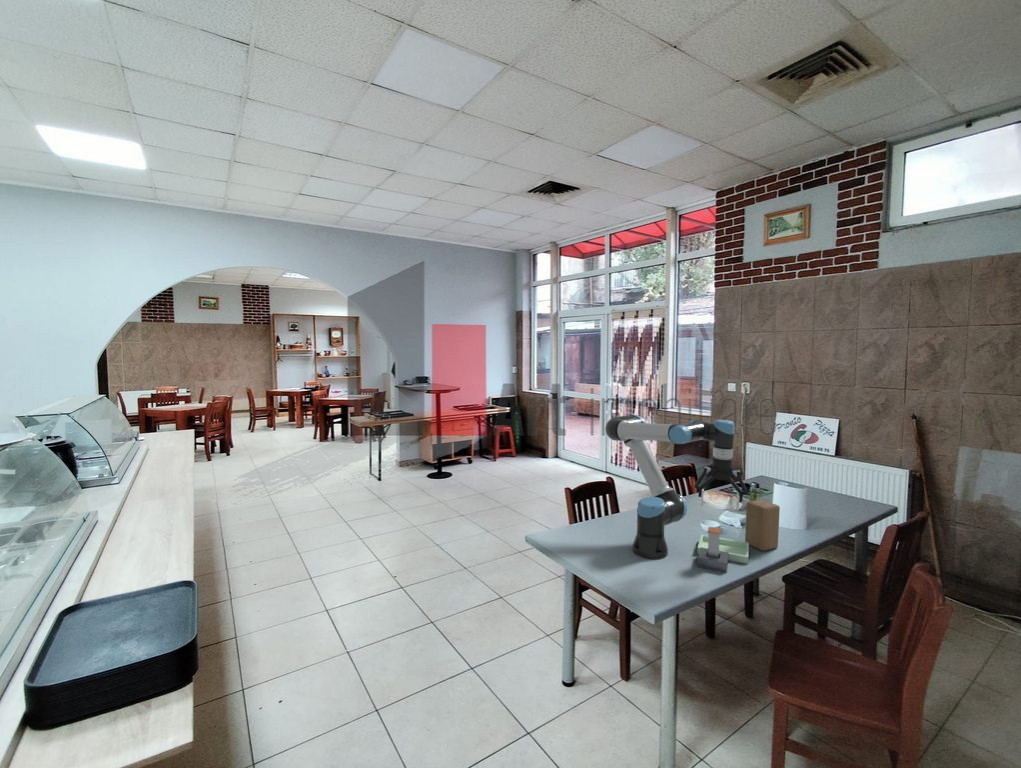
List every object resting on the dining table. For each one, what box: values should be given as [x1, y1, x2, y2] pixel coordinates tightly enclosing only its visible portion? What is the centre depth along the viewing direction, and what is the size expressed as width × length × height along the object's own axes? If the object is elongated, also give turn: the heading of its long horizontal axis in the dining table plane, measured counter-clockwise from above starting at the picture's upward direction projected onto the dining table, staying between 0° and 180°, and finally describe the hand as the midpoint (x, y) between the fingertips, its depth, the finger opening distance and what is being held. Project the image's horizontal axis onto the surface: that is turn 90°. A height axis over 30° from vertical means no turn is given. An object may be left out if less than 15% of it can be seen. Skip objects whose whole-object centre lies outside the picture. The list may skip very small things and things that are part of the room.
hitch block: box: [697, 547, 729, 573], centre depth 197 cm, size 11×11×4 cm
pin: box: [707, 526, 722, 559], centre depth 196 cm, size 5×5×15 cm
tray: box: [696, 534, 750, 565], centre depth 208 cm, size 20×16×3 cm
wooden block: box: [744, 499, 781, 552], centre depth 214 cm, size 10×10×20 cm
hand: (719, 507), depth 195 cm, fingers open, 13 cm apart
